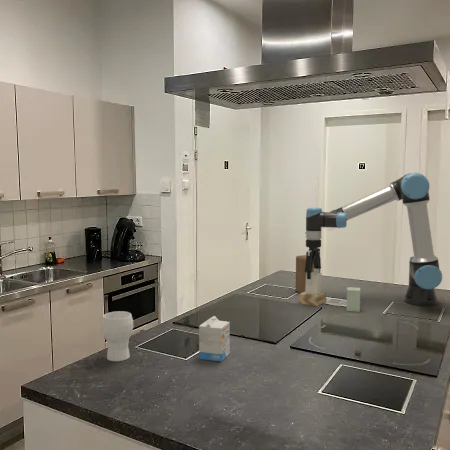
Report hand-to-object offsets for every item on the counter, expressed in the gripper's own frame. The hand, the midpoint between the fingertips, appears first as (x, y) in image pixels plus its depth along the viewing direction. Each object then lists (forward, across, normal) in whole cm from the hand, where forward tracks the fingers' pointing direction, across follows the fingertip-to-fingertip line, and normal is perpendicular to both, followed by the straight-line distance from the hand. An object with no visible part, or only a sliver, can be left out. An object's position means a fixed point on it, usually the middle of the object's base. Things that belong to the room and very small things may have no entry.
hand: (312, 283), depth 231 cm
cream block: (+5, 0, 0) cm, 5 cm away
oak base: (+10, 0, 0) cm, 10 cm away
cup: (+10, +102, -35) cm, 109 cm away
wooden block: (+10, -18, -9) cm, 22 cm away
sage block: (+10, +3, +21) cm, 23 cm away
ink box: (+10, +85, -6) cm, 86 cm away
